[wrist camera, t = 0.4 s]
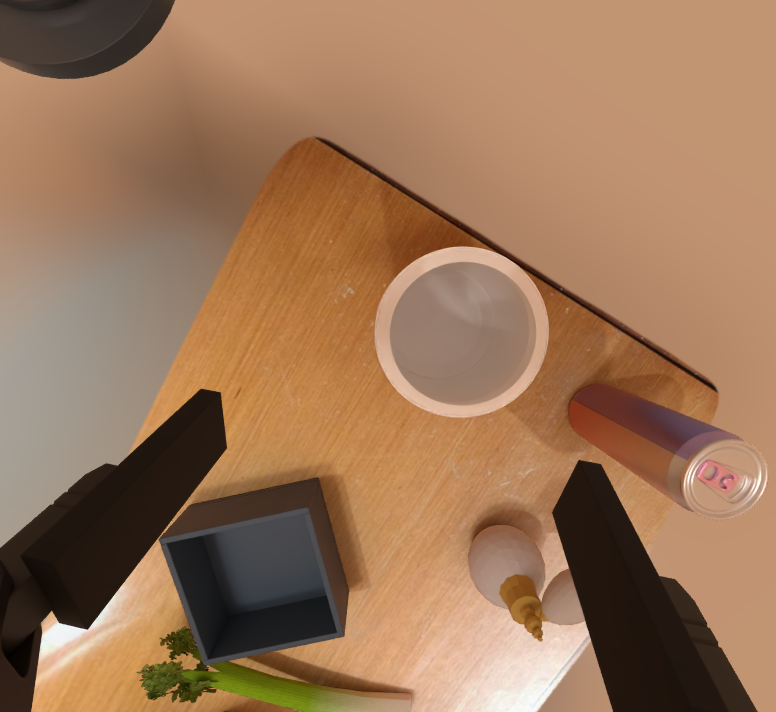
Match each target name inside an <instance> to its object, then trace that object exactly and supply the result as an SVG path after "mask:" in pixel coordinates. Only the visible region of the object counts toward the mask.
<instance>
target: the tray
mask: <svg viewBox="0 0 776 712" xmlns="http://www.w3.org/2000/svg"><path fill="white" fill-rule="evenodd" d="M159 542H160V544H161V547H162V550H163V553H164V556H165V558H166V561H167V564H168V567H169V570H170V572H171V575H172V578H173V581H174V583H175V586H176V589H177V592H178V595H179V597H180V600H181V603H182V606H183V608H184V611H185V614H186V617H187V620H188V622H189V625H190V628H191V631H192V633H193V636H194V639H195V642H196V644H197V647H198V650H199V653H200V656H201V658H202V661H203V664H204V666H206V665H211V664H215V663H220V662H225V661H230V660H235V659H239V658H244V657H249V656H254V655H258V654H263V653H268V652H273V651H278V650H282V649H287V648H292V647H297V646H302V645H306V644H311V643H316V642H321V641H325V640H330V639H335V638H340V637H344V635H345V625H346V615H347V606H348V596H349V589H348V586H347V582H346V578H345V575H344V571H343V567H342V564H341V560H340V556H339V552H338V549H337V545H336V541H335V538H334V534H333V530H332V526H331V523H330V519H329V515H328V512H327V508H326V504H325V501H324V497H323V493H322V489H321V486H320V482H319V478H314V479H309V480H304V481H300V482H295V483H290V484H286V485H281V486H276V487H272V488H267V489H262V490H258V491H253V492H248V493H244V494H239V495H235V496H230V497H225V498H221V499H216V500H211V501H207V502H202V503H197V504H193V505H189V506H188V507H187V509H186V510H185V511H184V512H183V513H182V514H181V515H180V516H179V517H178V518H177V520H176V521H175V522H174V523H173V524H172V525H171V526H170V527H169V528H168V530H167V531H166V532H165V533H164V534H163V535H162V536H161V537H160V538H159Z"/></svg>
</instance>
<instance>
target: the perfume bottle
mask: <svg viewBox="0 0 776 712" xmlns="http://www.w3.org/2000/svg"><path fill="white" fill-rule="evenodd" d="M468 564H469V570H470V575H471V579H472V580H473V582H474V584H475V586H476V588H477V590H478V591H479V592H480V593H481V594H482V595H483V596H484V597H485V598H486V599H487V600H489V601H490V602H491V603H492V604H494V605H496V606H499V607H502V608H504V609H509V611H510V613H511V615H512V618H513V620H514V621H516V622H518V623H519V624H525V628H526V629H527V631H528V632H530V633H532V635H533V636H534V638H536V639H538V641H542V640H543V639H542V635H543V632H542V630H541V627H542V621H549V622H551V623H554V624H558V625H573V624H578V623H582V622H584V621H585V618H584V615H583V612H582V608H581V605H580V602H579V599H578V595H577V592H576V589H575V586H574V582H573V579H572V576H571V572H570V569H567V570H564V571H562V572H560V573H559V574H558V575H557V576H555V577H554V578H553V580H552V581H551V582H550V584H549V585H548V587H547V588H546V590H545V592H544V595H543V598H542V602H541V601H540V600H539V598H538V596H539V594H540V592H541V591H542V589H543V586H544V581H545V564H544V561H543V558H542V555H541V552H540V551H539V549H538V547H537V545H536V544H535V542H534V541H533V540H532V539H531V538H530V537H529V536H528V535H527V534H526V533H524V532H522V531H521V530H519V529H517V528H515V527H512V526H510V525H501V524H500V525H494V526H489V527H488V528H486V529H484V530H482V531H481V532H480V533H479V534H478V535H477V536H476V537H475V538H474V540H473V542H472V544H471V546H470V550H469V554H468Z"/></svg>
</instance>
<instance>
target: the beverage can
mask: <svg viewBox="0 0 776 712" xmlns="http://www.w3.org/2000/svg"><path fill="white" fill-rule="evenodd" d="M569 420H570V424H571V426H572V428H573V429H574V430H575V431H576V432H577V433H578V434H579V435H580V436H582V437H583V438H585V439H586V440H588V441H589V442H590V443H592V444H593V445H595V446H596V447H597V448H599V449H600V450H602V451H603V452H605V453H606V454H607V455H609V456H610V457H612V458H613V459H615V460H616V461H617V462H619V463H620V464H622V465H623V466H625V467H626V468H627V469H629V470H630V471H632V472H633V473H634V474H636V475H637V476H639V477H640V478H642V479H643V480H644V481H646V482H647V483H649V484H650V485H652V486H653V487H654V488H656V489H657V490H659V491H660V492H661V493H663V494H664V495H666V496H667V497H669V498H670V499H671V500H673V501H674V502H676V503H677V504H679V505H680V506H682V507H683V508H685V509H687V510H689V511H692V512H695V513H696V514H698V515H700V516H702V517H704V518H707V519H712V520H727V519H731V518H735V517H737V516H739V515H742V514H744V513H745V512H747V511H748V510H749V509H751V508H752V507H753V506H754V505H755V504H756V503H757V502H758V501H759V500H760V498H761V497H762V495H763V493H764V491H765V489H766V486H767V483H768V466H767V463H766V460H765V458H764V456H763V455H762V454H761V452H760V451H759V450H758V449H757V448H755V447H754V446H752V445H751V444H749V443H746V442H745V441H744V440H742V439H741V438H740V437H738V436H736V435H734V434H732V433H729V432H727V431H724V430H722V429H719V428H716V427H714V426H712V425H709V424H706V423H704V422H701V421H699V420H696V419H694V418H691V417H689V416H686V415H684V414H681V413H679V412H676V411H674V410H671V409H668V408H666V407H663V406H661V405H658V404H656V403H653V402H651V401H648V400H646V399H643V398H641V397H638V396H636V395H633V394H630V393H628V392H625V391H623V390H620V389H618V388H615V387H613V386H610V385H607V384H594V385H590V386H588V387H586V388H584V389H582V390H581V391H579V392H578V393H577V394H576V395H575V397H574V398H573V400H572V401H571V404H570V407H569Z"/></svg>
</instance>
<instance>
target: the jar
mask: <svg viewBox="0 0 776 712" xmlns="http://www.w3.org/2000/svg"><path fill="white" fill-rule="evenodd" d="M548 338H549V323H548V316H547V311H546V307H545V304H544V301H543V299H542V297H541V294H540V292H539V291H538V289H537V287H536V286H535V284H534V283H533V281H532V280H531V279H530V277H529V276H528V275H527V274H526V273H525V272H524V271H523V270H522V269H521V268H520V267H519V266H517V265H516V264H515V263H513V262H512V261H510V260H509V259H507V258H505V257H504V256H502V255H499V254H497V253H495V252H492V251H489V250H485V249H481V248H475V247H451V248H445V249H441V250H437V251H434V252H431V253H429V254H427V255H424V256H422V257H421V258H419V259H417V260H415V261H414V262H412V263H411V264H410V265H408V266H407V267H406V268H405V269H404V270H402V271H401V272H400V273H399V274H398V275H397V276H396V277H395V279H394V280H393V281H392V282H391V283H390V284H389V286H388V287H387V289H386V290H385V292H384V294H383V296H382V298H381V300H380V303H379V306H378V310H377V314H376V321H375V346H376V351H377V356H378V359H379V362H380V364H381V367H382V369H383V371H384V373H385V375H386V377H387V378H388V380H389V381H390V383H391V384H392V385H393V387H394V388H395V389H396V390H397V391H398V392H399V393H400V394H401V395H402V396H403V397H404V398H406V399H407V400H408V401H409V402H411V403H412V404H414V405H416V406H417V407H419V408H421V409H423V410H425V411H428V412H430V413H433V414H437V415H440V416H445V417H454V418H467V417H475V416H480V415H484V414H487V413H490V412H493V411H495V410H498V409H500V408H502V407H504V406H505V405H507V404H509V403H510V402H512V401H513V400H514V399H516V398H517V397H518V396H519V395H520V394H521V393H522V392H523V391H524V390H525V389H526V388H527V387H528V386H529V385H530V384H531V382H532V381H533V379H534V378H535V376H536V375H537V373H538V371H539V369H540V367H541V365H542V363H543V360H544V357H545V354H546V350H547V346H548Z"/></svg>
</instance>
